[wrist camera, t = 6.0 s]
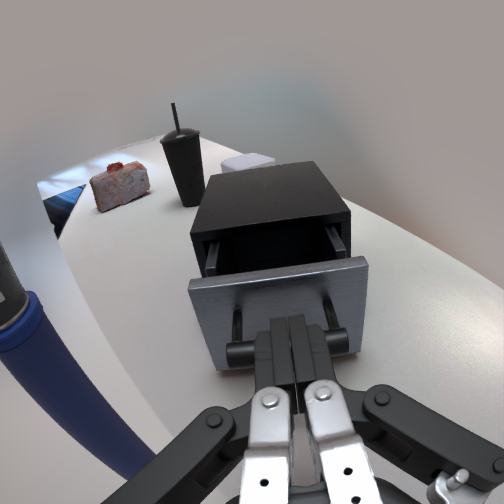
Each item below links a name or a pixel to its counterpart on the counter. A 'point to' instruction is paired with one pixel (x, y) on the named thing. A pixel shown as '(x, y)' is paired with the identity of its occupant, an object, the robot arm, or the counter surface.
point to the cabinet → (267, 205)
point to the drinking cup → (185, 162)
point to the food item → (119, 185)
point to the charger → (246, 162)
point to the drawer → (279, 291)
